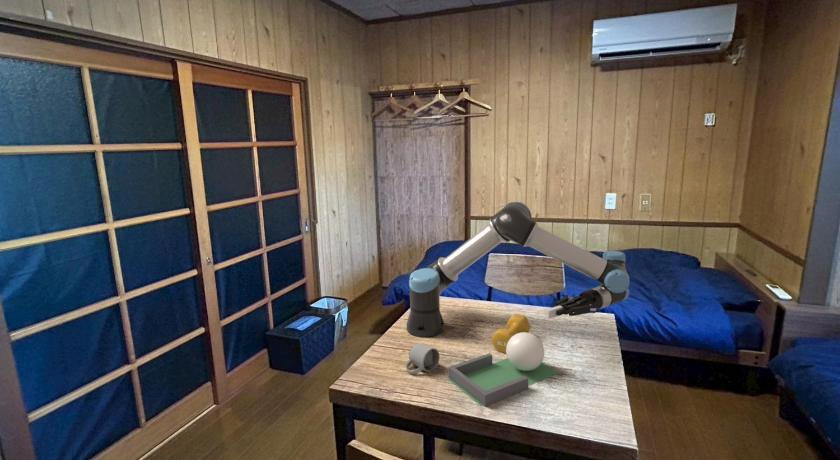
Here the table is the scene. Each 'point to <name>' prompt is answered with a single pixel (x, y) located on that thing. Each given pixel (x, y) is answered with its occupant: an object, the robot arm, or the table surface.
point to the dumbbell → (510, 331)
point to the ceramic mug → (423, 358)
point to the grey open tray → (476, 391)
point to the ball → (525, 351)
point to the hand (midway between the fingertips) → (547, 314)
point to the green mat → (505, 375)
